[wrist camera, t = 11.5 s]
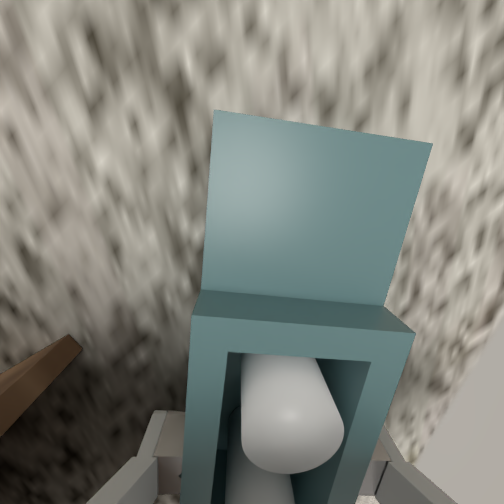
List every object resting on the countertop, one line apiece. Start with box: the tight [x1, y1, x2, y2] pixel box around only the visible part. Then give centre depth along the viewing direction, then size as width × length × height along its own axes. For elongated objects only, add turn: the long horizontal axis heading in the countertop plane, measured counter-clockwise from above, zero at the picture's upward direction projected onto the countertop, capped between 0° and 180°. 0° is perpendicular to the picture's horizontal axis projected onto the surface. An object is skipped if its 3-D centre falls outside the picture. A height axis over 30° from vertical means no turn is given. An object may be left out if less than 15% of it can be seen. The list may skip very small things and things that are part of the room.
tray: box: [180, 110, 433, 504], centre depth 9 cm, size 17×6×6 cm, turn 173°
